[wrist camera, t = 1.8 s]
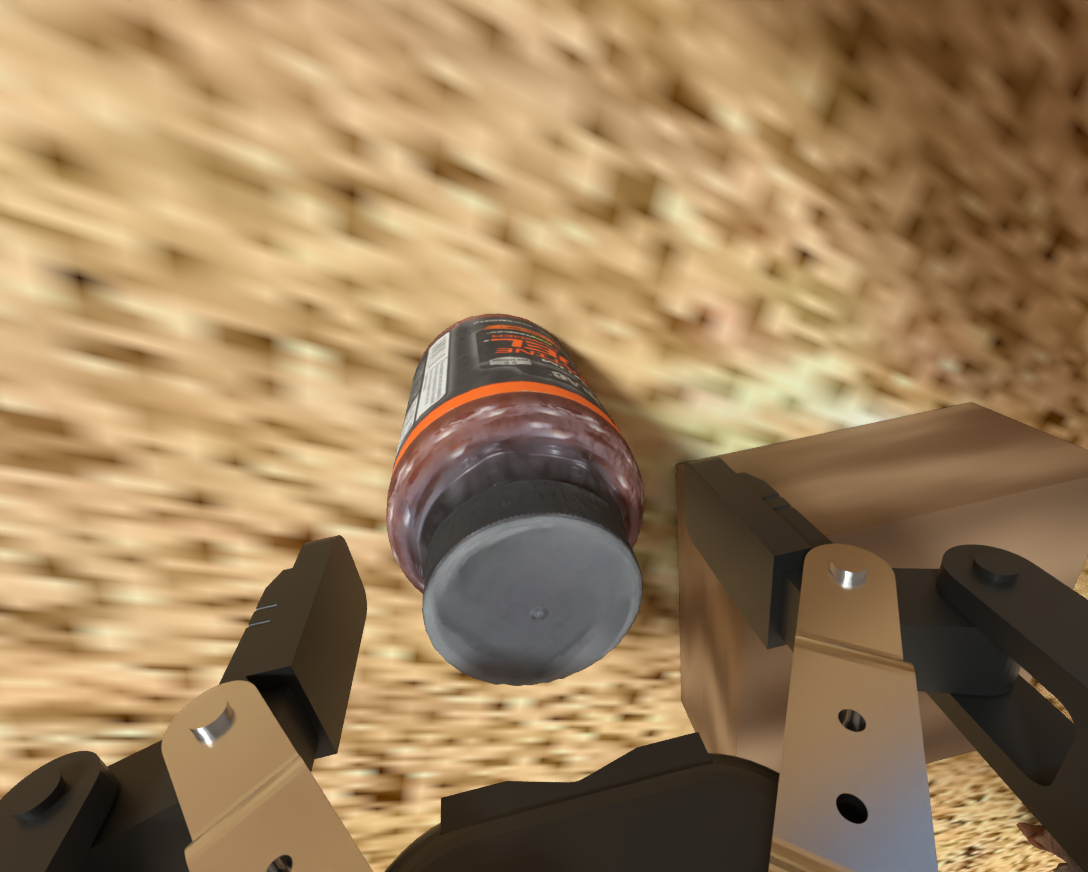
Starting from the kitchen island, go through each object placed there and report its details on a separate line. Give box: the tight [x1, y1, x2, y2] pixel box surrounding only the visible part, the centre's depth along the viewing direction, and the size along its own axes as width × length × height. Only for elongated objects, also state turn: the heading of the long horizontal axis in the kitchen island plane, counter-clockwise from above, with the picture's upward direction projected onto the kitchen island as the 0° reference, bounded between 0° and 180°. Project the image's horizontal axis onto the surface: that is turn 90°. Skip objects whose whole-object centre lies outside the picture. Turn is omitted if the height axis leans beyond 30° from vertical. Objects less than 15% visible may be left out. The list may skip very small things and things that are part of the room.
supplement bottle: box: [386, 314, 644, 686], centre depth 14 cm, size 6×6×11 cm
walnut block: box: [676, 402, 1088, 773], centre depth 23 cm, size 16×14×6 cm
